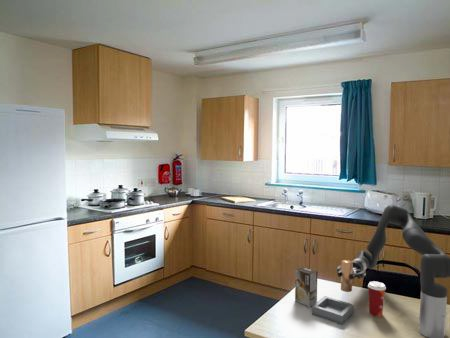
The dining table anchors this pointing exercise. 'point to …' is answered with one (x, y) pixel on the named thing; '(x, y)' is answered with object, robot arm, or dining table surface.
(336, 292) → the dining table surface
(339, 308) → the grey tray
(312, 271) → the coffee box
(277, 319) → the dining table surface
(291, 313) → the dining table surface
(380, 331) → the dining table surface
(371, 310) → the paper cup
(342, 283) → the copper tin
